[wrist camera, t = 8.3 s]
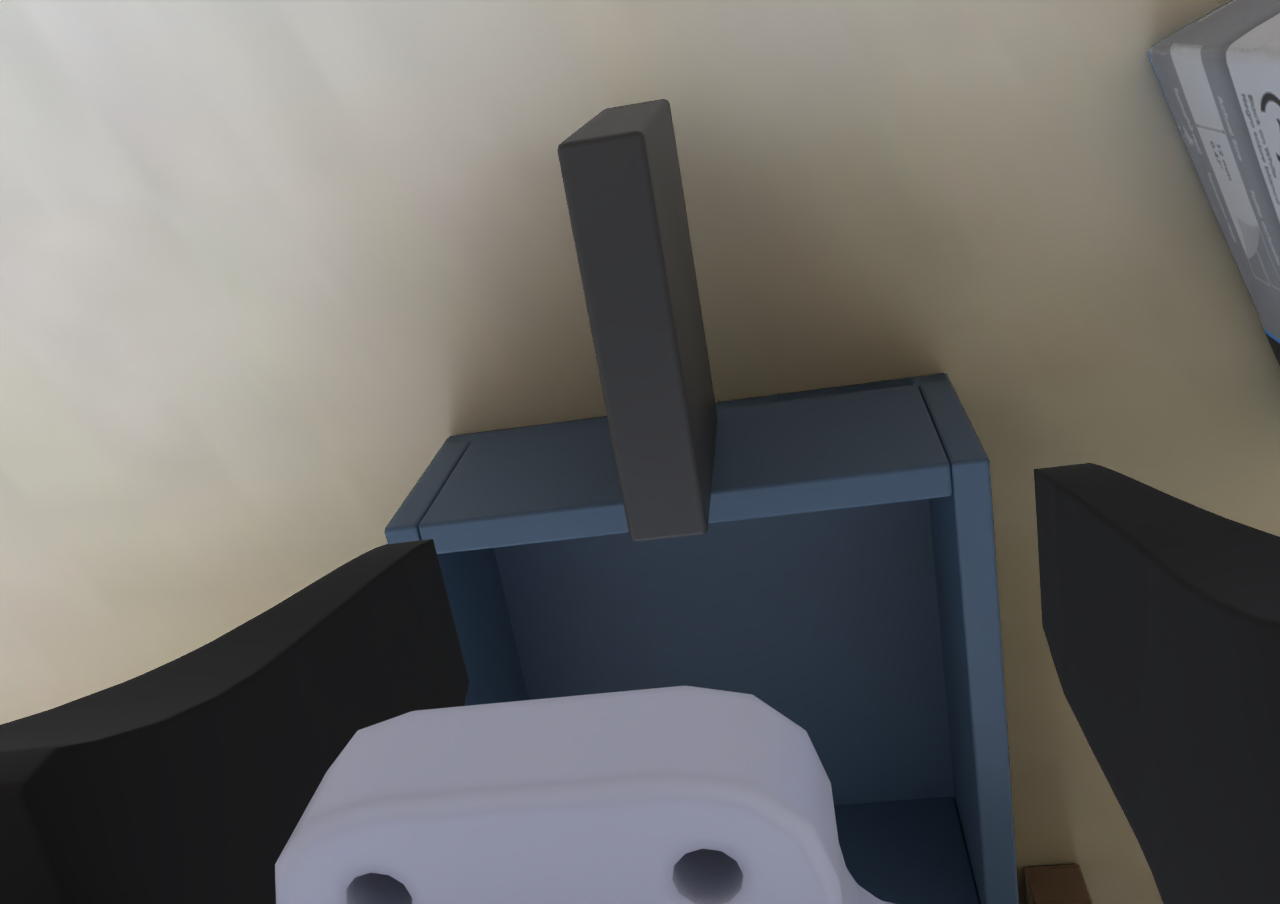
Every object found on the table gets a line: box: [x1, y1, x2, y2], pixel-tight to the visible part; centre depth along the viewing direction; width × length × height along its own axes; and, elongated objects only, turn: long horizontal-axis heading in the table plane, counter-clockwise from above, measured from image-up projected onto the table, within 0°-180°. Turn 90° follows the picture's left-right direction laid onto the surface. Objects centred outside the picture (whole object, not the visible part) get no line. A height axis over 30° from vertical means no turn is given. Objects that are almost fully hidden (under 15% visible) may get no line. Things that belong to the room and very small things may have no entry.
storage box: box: [385, 99, 1019, 904], centre depth 21 cm, size 10×16×6 cm, turn 10°
